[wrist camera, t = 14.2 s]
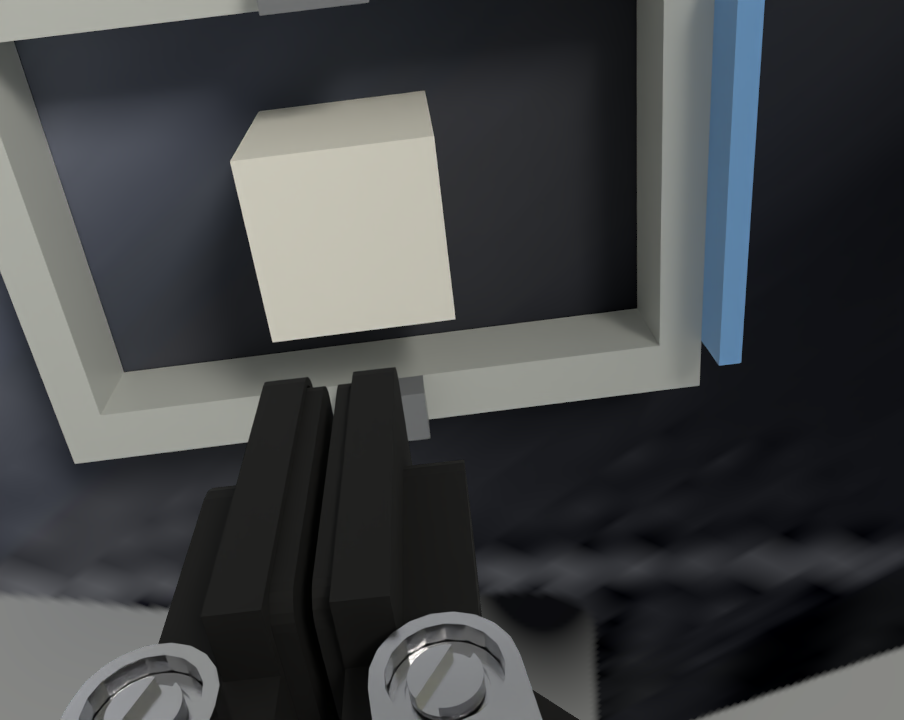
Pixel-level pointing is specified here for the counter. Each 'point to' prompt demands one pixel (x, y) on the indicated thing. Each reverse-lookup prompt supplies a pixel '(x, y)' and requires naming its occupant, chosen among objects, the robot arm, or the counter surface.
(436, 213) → the cream matte cube
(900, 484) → the counter surface
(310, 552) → the robot arm
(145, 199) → the counter surface
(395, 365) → the compartment tray
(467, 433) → the counter surface
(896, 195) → the counter surface
